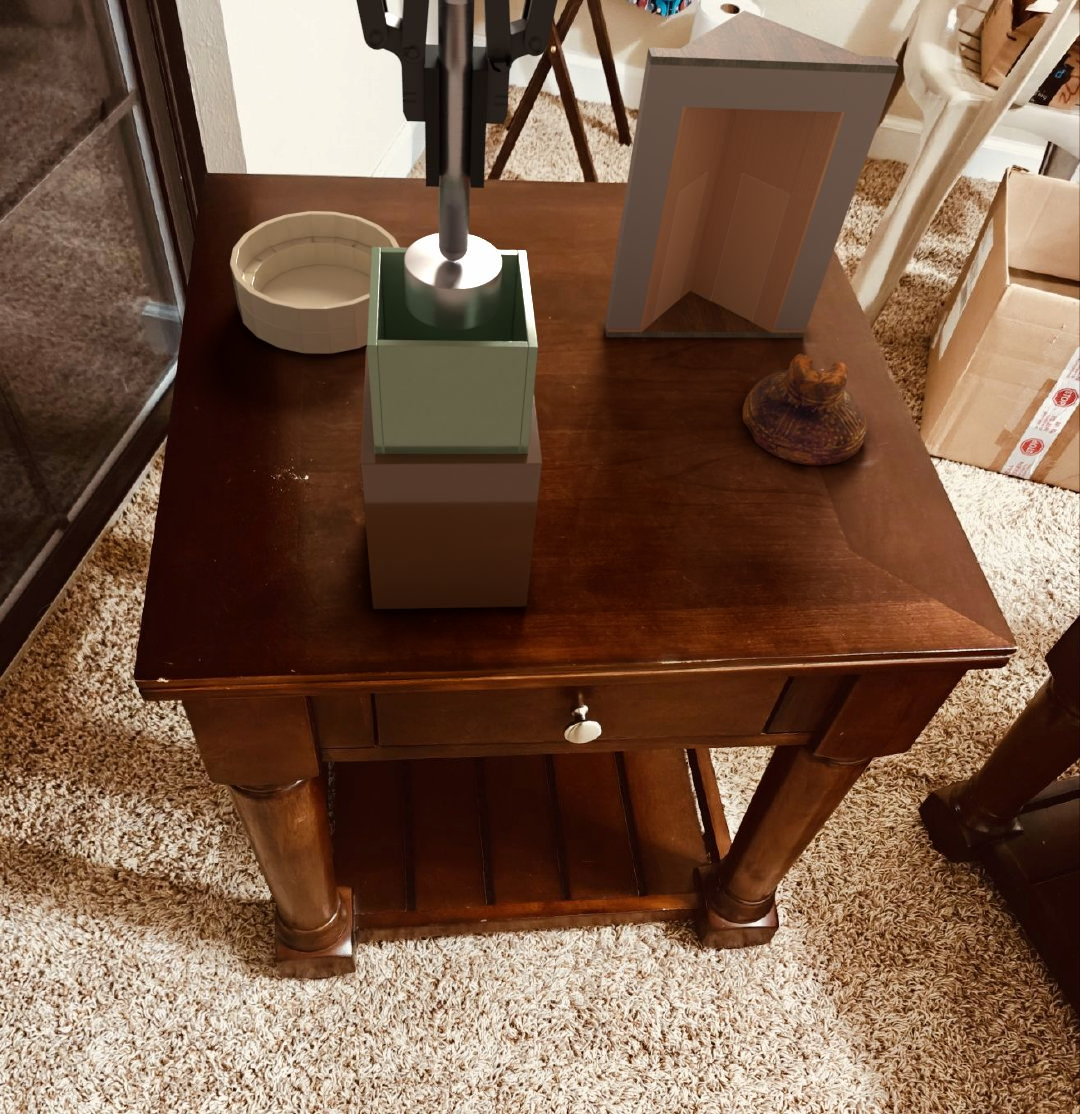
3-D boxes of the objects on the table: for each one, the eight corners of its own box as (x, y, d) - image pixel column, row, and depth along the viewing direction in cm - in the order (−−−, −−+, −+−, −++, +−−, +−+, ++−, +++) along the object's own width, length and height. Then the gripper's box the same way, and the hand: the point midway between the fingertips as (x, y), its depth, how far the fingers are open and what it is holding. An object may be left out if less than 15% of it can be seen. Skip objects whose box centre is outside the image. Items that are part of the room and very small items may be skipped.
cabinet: (606, 336, 101) (651, 56, 79) (594, 280, 107) (633, 5, 86) (803, 337, 104) (898, 65, 82) (780, 282, 110) (863, 15, 88)
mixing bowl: (231, 359, 94) (220, 307, 90) (249, 260, 105) (240, 208, 100) (403, 361, 96) (401, 310, 92) (404, 263, 106) (402, 213, 102)
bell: (718, 429, 93) (736, 368, 88) (778, 368, 100) (798, 308, 94) (828, 488, 89) (854, 429, 84) (883, 421, 96) (911, 362, 90)
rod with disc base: (404, 329, 61) (393, -1, 46) (405, 271, 64) (395, -51, 50) (502, 330, 61) (521, 5, 47) (497, 273, 65) (514, -44, 50)
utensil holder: (372, 609, 77) (350, 355, 58) (376, 496, 85) (358, 238, 65) (526, 606, 78) (554, 357, 59) (516, 495, 86) (538, 242, 67)
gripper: (636, -396, 41) (577, 144, 59) (271, -431, 40) (324, 136, 58) (665, -363, 36) (591, 214, 55) (252, -400, 35) (317, 207, 53)
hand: (454, 173), depth 56 cm, fingers closed on rod with disc base, 2 cm apart
